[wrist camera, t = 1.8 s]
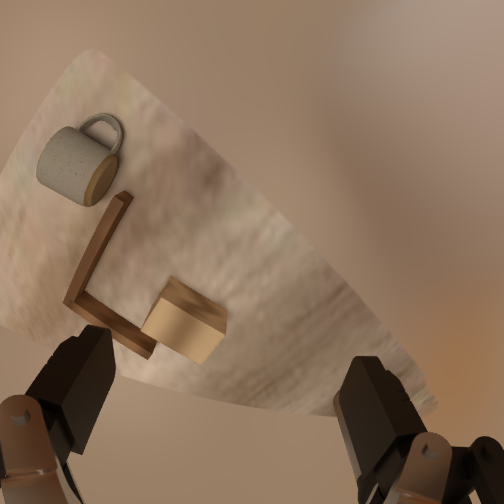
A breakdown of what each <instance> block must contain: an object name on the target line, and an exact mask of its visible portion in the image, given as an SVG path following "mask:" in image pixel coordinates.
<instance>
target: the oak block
mask: <svg viewBox="0 0 504 504" xmlns="http://www.w3.org/2000/svg"><path fill="white" fill-rule="evenodd" d="M227 312H228V311H227V310H226V309H224V308H222V307H221V306H219V305H217V304H216V303H214V302H212V301H211V300H209V299H207V298H206V297H204V296H202V295H201V294H199V293H197V292H196V291H194V290H193V289H191V288H189V287H188V286H186V285H185V284H183V283H181V282H180V281H178V280H177V279H175V278H173V277H172V276H171V277H170V279H169V280H168V282H167V283H166V285H165V287H164V288H163V290H162V291H161V293H160V294H159V296H158V298H157V299H156V301H155V302H154V304H153V306H152V307H151V309H150V311H149V313H148V315H147V317H146V319H145V322H144V324H143V326H142V328H141V330H140V331H142V332H143V333H145V334H147V335H148V336H150V337H152V338H153V339H155V340H157V341H159V342H160V343H162V344H164V345H165V346H167V347H169V348H171V349H173V350H174V351H176V352H178V353H180V354H182V355H183V356H185V357H187V358H189V359H191V360H193V361H195V362H196V363H198V364H200V365H201V364H202V363H203V362H204V360H205V359H206V358H207V357H208V356H209V355H210V353H211V352H212V351H213V350H214V349H215V348H216V346H217V345H218V344H219V343H220V342H221V340H222V339H223V338H224V337H225V336H226V326H227Z"/></svg>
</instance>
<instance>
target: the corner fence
mask: <svg viewBox="0 0 504 504" xmlns="http://www.w3.org/2000/svg"><path fill="white" fill-rule="evenodd" d="M133 198H134V197H133V196H131V195H130V194H128V193H127V192H126V191H123V192H121V193H119V194H117V195H115V196H114V197H113V198H112V200H111V202H110V204H109V206H108V208H107V209H106V211H105V213H104V215H103V217H102V219H101V221H100V223H99V225H98V227H97V228H96V230H95V232H94V234H93V236H92V238H91V240H90V242H89V245H88V247H87V249H86V251H85V253H84V255H83V257H82V259H81V261H80V264H79V266H78V268H77V270H76V273H75V275H74V277H73V279H72V282H71V284H70V286H69V289H68V291H67V294H66V296H65V298H64V301H63V304H65V305H66V306H67V307H69V308H70V309H71V310H73V311H74V312H75V313H77V314H78V315H80V316H81V317H82V318H84V319H85V320H87V321H88V322H89V323H91V324H92V325H94V326H99V327H104V328H109V329H110V330H111V334H112V338H113V339H115V340H116V341H118V342H119V343H121V344H123V345H124V346H126V347H127V348H129V349H130V350H132V351H134V352H135V353H137V354H139V355H140V356H142V357H144V358H145V359H147V360H148V359H149V358H150V356H151V355H152V353H153V351H154V348H155V345H156V342H157V340H155V339H153V338H152V337H150V336H148V335H147V334H145V333H143V332H142V331H140V330H141V329H140V328H138V327H136V326H135V325H133V324H132V323H130V322H129V321H127V320H126V319H124V318H123V317H121V316H120V315H118V314H117V313H115V312H114V311H112V310H111V309H109V308H108V307H106V306H105V305H103V304H102V303H100V302H99V301H98V300H96V299H95V298H93V297H92V296H91V295H89V294H88V293H86V292H85V291H84V290H85V287H86V285H87V283H88V281H89V279H90V277H91V275H92V273H93V271H94V269H95V267H96V265H97V263H98V261H99V259H100V257H101V255H102V253H103V251H104V249H105V247H106V245H107V244H108V242H109V240H110V238H111V236H112V234H113V232H114V231H115V229H116V227H117V225H118V223H119V222H120V220H121V218H122V216H123V215H124V213H125V211H126V209H127V208H128V206H129V204H130V203H131V201H132V199H133Z"/></svg>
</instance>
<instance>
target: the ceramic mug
mask: <svg viewBox="0 0 504 504" xmlns="http://www.w3.org/2000/svg"><path fill="white" fill-rule="evenodd" d="M99 120H102V121H106V122H107V123H109V124H110V125H111V126H112V127H113V129H114V130H117V132H118V136H117V140H116V142H115V144H114V146H113V148H112V149H111V150H109V149H107V148H106V147H104V146H102V145H100V144H99V143H97V142H95V141H94V140H92V139H91V138H89V137H88V136H86V135H84V134H83V133H82V131H83V130H84V129H85V128H86V127H88V126H89V125H90V124H92V123H93V122H95V121H99ZM121 141H122V130H121V127H120V125H119V123H118V121H117V120H116V119H115V118H113V117H112V116H110V115H107V114H96V115H93V116H91V117H89V118H88V119H86V120H85V121H84V122H82V123H81V124H80V125H79V126H78V127H77V129H74V128H73V127H70V126H68V127H64V128H62V129H61V130H59V131H58V132H57V133H56V134H55V135H54V136H53V137H52V138H51V139H50V140H49V142H48V143H47V145H46V146H45V148H44V150H43V152H42V154H41V156H40V158H39V161H38V165H37V171H36V176H37V179H38V181H39V182H40V183H41V184H43V185H45V186H46V187H48V188H50V189H52V190H53V191H55V192H57V193H59V194H61V195H63V196H65V197H66V198H68V199H70V200H72V201H73V202H75V203H77V204H79V205H82V206H85V207H91V206H93V205H95V204H97V203H98V202H99V201H100V200H101V198H102V197H103V196H104V194H105V193H106V191H107V190H108V188H109V186H110V184H111V182H112V180H113V178H114V176H115V173H116V170H117V164H118V162H117V158H116V156H115V153H116V151H117V150H118V149H119V146H120V144H121Z"/></svg>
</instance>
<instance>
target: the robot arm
mask: <svg viewBox="0 0 504 504" xmlns="http://www.w3.org/2000/svg"><path fill="white" fill-rule="evenodd" d="M115 371H116V364H115V357H114V350H113V342H112V334H111V330H110V329H109V328H104V327H99V326H94V325H89V324H88V325H87V326H86V327H85V328H84V330H83V331H82V332H81V334H80V335H79V337H75V336H71V337H70V338H68V339H67V340H65V341H64V342H62V343H61V344H60V345H59V346H58V348H57V349H56V350H55V352H54V353H53V356H51V357H50V359H49V360H48V362H47V364H45V366H44V367H43V368H42V370H41V371H40V373H39V374H38V376H37V377H36V378H35V380H34V381H33V383H32V384H31V386H30V387H29V389H28V390H27V392H26V393H25V395H13V396H10V397H8V398H7V399H5V400H4V401H3V402H2V403H1V404H0V488H2V492H3V496H4V499H5V503H6V504H85V502H84V500H83V497H82V495H81V493H80V491H79V488H78V486H77V484H76V481H75V479H74V476H73V474H72V471H71V469H70V466H69V464H68V461H67V458H68V456H69V453H70V451H72V452H75V453H77V454H80V455H82V454H83V452H84V449H85V447H86V444H87V442H88V439H89V437H90V434H91V432H92V429H93V427H94V425H95V422H96V420H97V417H98V415H99V412H100V410H101V408H102V406H103V403H104V401H105V399H106V397H107V394H108V392H109V390H110V387H111V385H112V383H113V381H114V377H115ZM333 405H334V408H335V412H336V415H337V418H338V422H339V425H340V428H341V432H342V435H343V438H344V442H345V445H346V448H347V452H348V455H349V459H350V462H351V465H352V468H353V472H354V475H355V479H356V482H357V486H358V502H359V504H472V502H471V500H470V497H469V494H470V493H471V492H473V491H474V490H476V492H477V495H478V497H479V499H480V502H481V504H504V450H503V448H502V446H501V445H500V444H499V442H497V441H496V440H495V439H493V438H491V437H487V436H482V437H479V438H477V439H476V440H475V441H474V442H473V443H472V445H471V446H470V447H453V446H450V444H449V442H448V441H447V440H446V439H445V438H444V437H442V436H441V435H439V434H437V433H433V432H428V431H427V429H426V427H425V426H424V424H423V422H422V420H421V418H420V416H419V414H418V413H417V411H416V409H415V407H414V405H413V403H412V402H411V401H410V398H409V396H408V394H407V393H406V392H405V389H404V387H403V385H402V384H401V382H400V380H399V379H398V378H397V377H396V376H395V375H394V374H392V373H391V372H390V371H389V370H385V369H384V367H383V365H382V363H381V361H380V360H379V358H378V357H377V356H356V357H354V358H353V360H352V362H351V365H350V367H349V370H348V372H347V375H346V377H345V379H344V382H343V384H342V386H341V389H340V391H339V392H338V393H337V395H336V396H335V398H334V402H333ZM5 475H6V477H5Z"/></svg>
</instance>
